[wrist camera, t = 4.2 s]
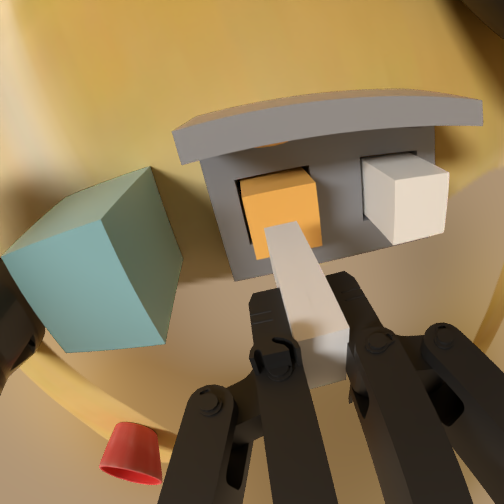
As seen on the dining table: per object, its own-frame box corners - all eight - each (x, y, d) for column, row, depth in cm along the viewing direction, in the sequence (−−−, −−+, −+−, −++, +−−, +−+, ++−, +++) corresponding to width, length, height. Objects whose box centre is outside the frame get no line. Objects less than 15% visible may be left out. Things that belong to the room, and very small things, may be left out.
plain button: (362, 211, 19) (393, 245, 15) (359, 157, 17) (394, 180, 13) (407, 202, 19) (443, 232, 15) (407, 152, 17) (449, 172, 13)
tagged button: (251, 224, 21) (256, 259, 17) (239, 173, 19) (241, 197, 15) (304, 213, 21) (322, 245, 17) (296, 161, 19) (315, 182, 15)
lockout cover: (102, 277, 23) (65, 352, 16) (65, 197, 19) (0, 256, 12) (183, 259, 23) (165, 344, 15) (150, 166, 19) (100, 219, 11)
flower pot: (98, 413, 38) (88, 461, 29) (158, 421, 38) (153, 474, 30) (118, 436, 43) (112, 478, 35) (171, 443, 44) (168, 487, 36)
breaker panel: (233, 259, 23) (236, 332, 17) (194, 116, 17) (172, 131, 11) (412, 220, 23) (464, 271, 16) (408, 89, 17) (482, 100, 10)
